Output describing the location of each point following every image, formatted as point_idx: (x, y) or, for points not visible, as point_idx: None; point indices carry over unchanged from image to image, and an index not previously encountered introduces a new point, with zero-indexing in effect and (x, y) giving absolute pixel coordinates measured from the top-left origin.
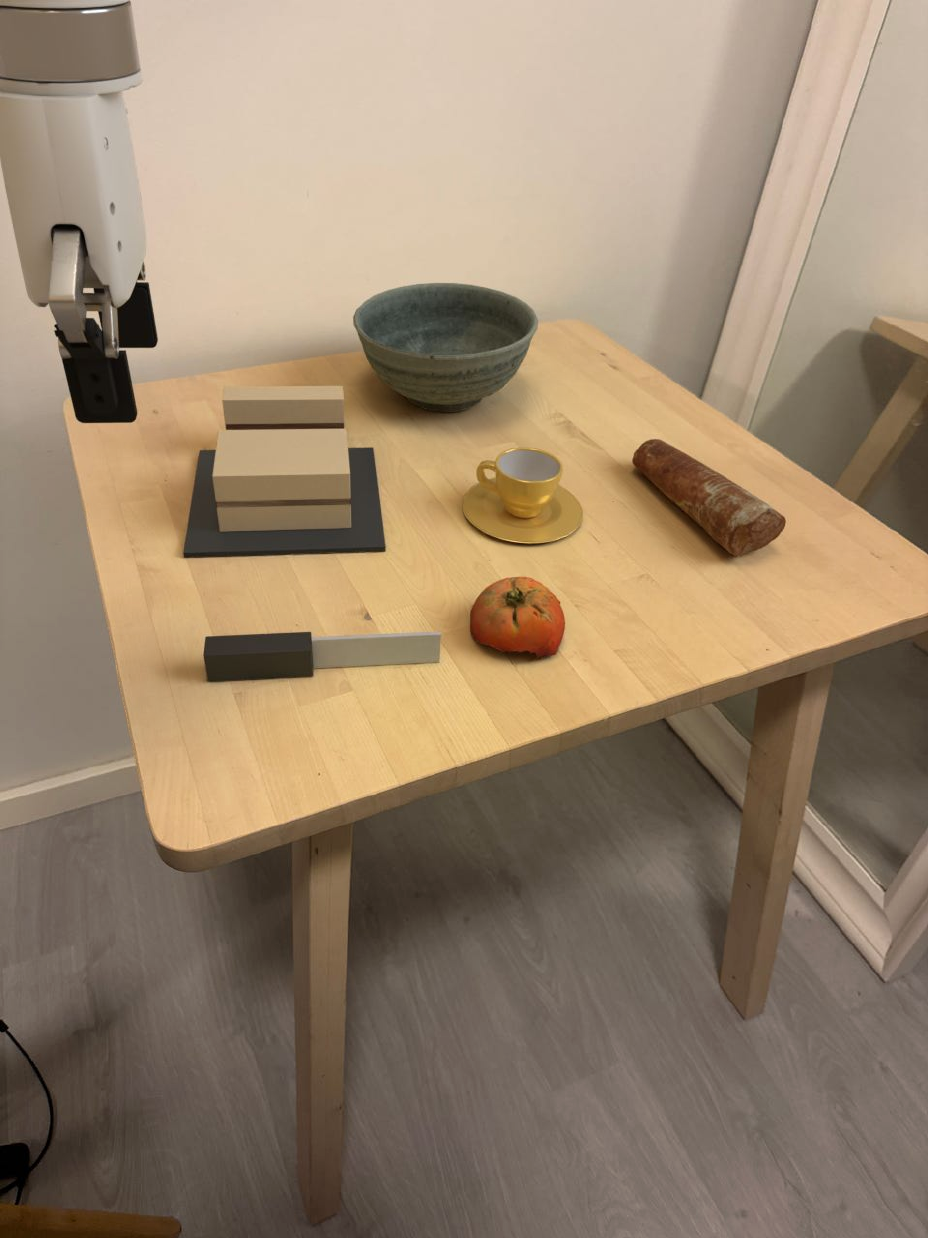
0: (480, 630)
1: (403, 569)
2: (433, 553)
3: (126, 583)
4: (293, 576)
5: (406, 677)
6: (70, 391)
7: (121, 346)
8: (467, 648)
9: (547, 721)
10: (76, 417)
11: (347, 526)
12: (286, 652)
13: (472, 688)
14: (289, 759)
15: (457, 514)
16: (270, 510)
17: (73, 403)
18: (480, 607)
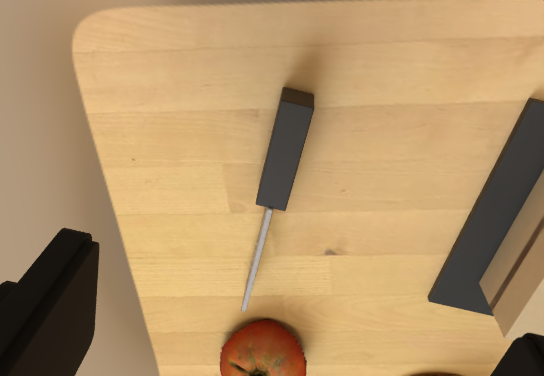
0: (253, 333)
1: (390, 301)
2: (403, 331)
3: (512, 17)
4: (428, 206)
5: (234, 257)
6: (17, 284)
7: (500, 362)
8: (256, 310)
9: (157, 328)
10: (59, 231)
11: (480, 281)
12: (261, 181)
13: (206, 297)
14: (155, 140)
15: (456, 369)
16: (532, 225)
17: (41, 257)
18: (269, 348)
